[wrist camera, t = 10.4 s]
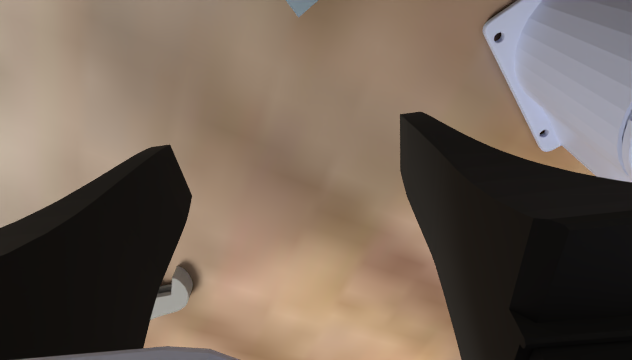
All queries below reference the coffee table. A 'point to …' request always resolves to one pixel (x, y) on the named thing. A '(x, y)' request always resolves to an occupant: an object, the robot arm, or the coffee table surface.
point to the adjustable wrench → (173, 294)
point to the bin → (300, 5)
